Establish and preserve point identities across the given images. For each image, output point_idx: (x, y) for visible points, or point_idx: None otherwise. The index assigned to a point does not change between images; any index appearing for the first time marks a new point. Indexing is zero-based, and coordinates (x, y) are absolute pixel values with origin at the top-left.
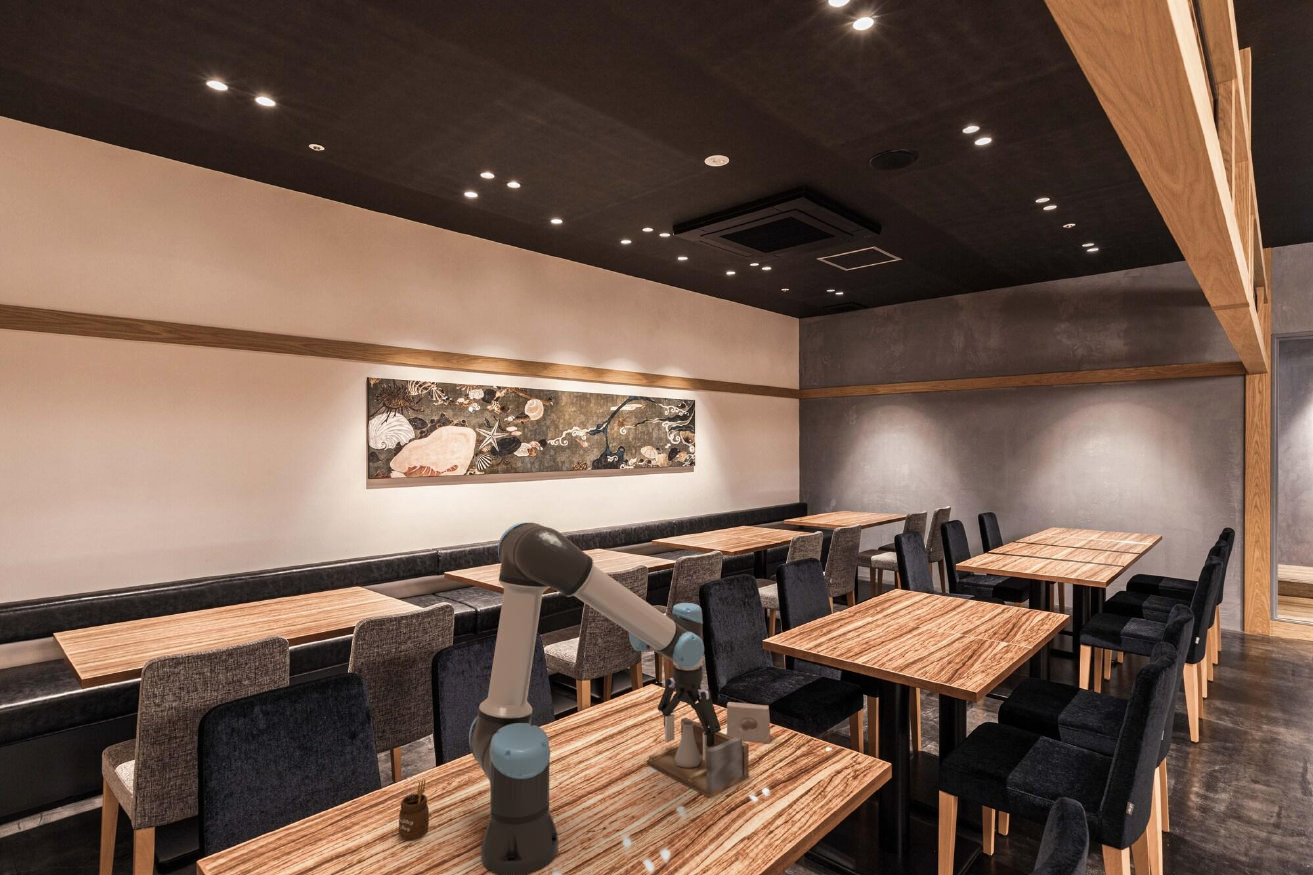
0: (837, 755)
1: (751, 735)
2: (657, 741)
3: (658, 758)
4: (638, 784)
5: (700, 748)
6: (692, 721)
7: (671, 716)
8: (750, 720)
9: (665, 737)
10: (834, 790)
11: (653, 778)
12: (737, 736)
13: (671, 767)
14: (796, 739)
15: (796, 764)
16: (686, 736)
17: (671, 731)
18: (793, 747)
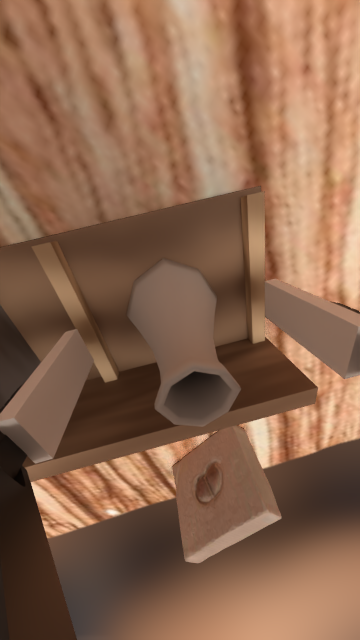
0: (86, 514)
1: (198, 460)
2: (332, 298)
3: (243, 232)
4: (143, 40)
5: None
6: (196, 424)
7: (345, 357)
8: (207, 497)
9: (283, 283)
10: None
11: (159, 149)
12: (217, 440)
13: (168, 239)
14: (162, 493)
15: (80, 471)
16: (166, 338)
17: (286, 317)
18: (140, 484)
